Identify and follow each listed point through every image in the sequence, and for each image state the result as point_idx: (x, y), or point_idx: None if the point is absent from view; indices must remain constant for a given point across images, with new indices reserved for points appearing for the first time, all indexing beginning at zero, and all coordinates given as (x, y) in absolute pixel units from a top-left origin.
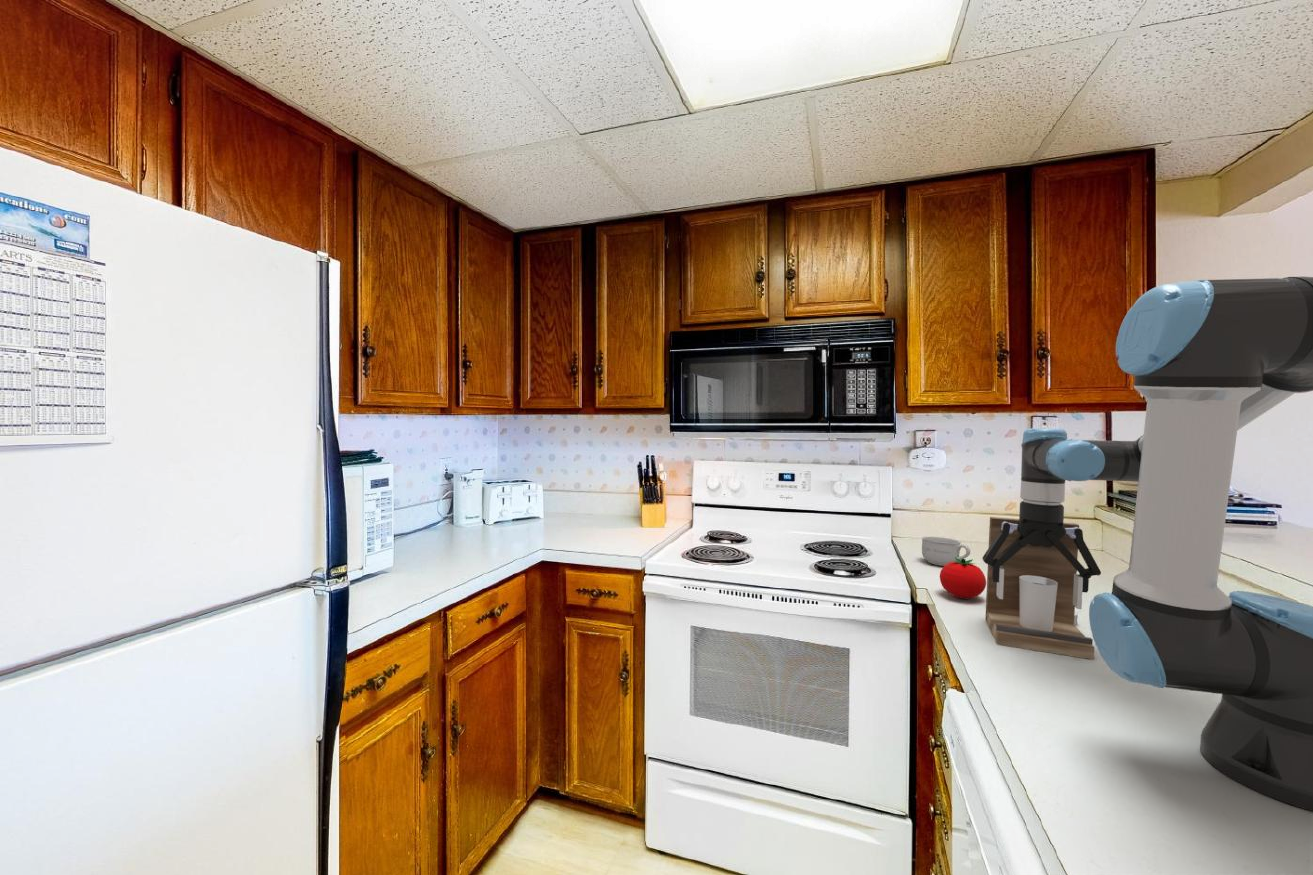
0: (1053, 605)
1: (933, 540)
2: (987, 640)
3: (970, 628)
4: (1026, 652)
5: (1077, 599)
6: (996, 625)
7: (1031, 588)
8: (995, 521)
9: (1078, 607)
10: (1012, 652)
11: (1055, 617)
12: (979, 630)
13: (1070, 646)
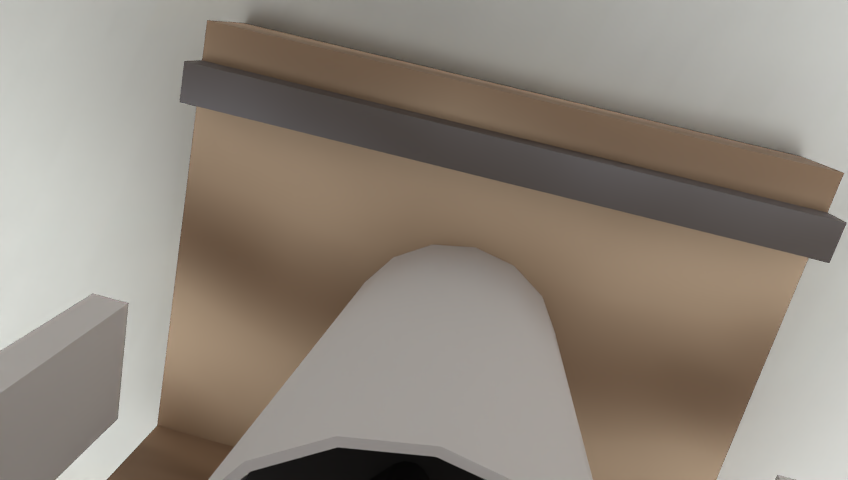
0: (327, 342)
1: None
2: (836, 216)
3: (841, 411)
4: (654, 48)
5: (67, 346)
6: (833, 244)
7: (557, 467)
8: None
9: (109, 303)
10: (765, 26)
11: None
12: (791, 385)
13: (355, 54)
